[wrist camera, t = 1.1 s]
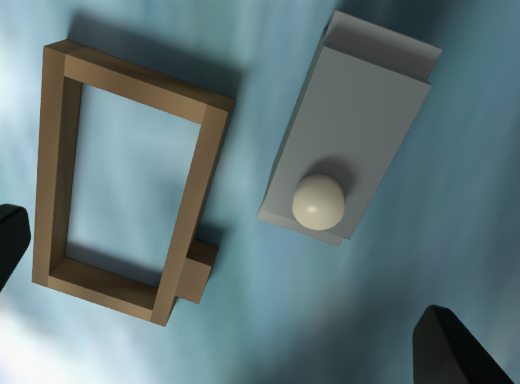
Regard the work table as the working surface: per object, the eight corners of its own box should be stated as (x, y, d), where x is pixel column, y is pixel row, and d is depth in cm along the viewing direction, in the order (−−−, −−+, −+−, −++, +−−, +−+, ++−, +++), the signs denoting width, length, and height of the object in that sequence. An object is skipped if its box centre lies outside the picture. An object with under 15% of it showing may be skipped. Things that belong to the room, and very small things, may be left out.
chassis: (265, 110, 20) (260, 123, 19) (196, 313, 27) (188, 334, 26) (65, 39, 20) (43, 46, 18) (48, 263, 27) (31, 282, 26)
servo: (422, 34, 18) (457, 60, 13) (337, 207, 22) (340, 273, 18) (333, 1, 18) (336, 16, 13) (266, 182, 22) (249, 242, 18)
